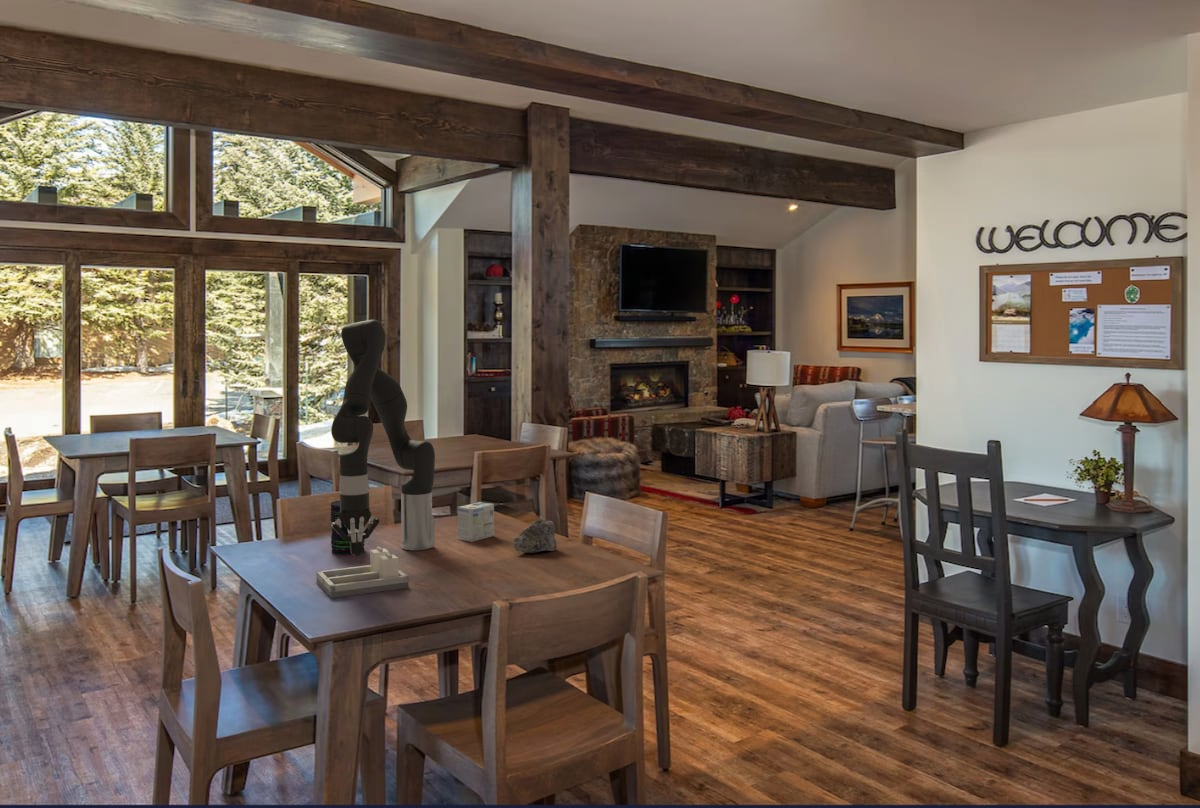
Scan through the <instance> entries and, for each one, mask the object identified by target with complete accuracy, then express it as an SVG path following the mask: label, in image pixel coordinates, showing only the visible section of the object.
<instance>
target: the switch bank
mask: <svg viewBox="0 0 1200 808" xmlns="http://www.w3.org/2000/svg"><path fill="white" fill-rule="evenodd" d="M316 583H317V585H318V586H319V587H320V588H321V589H322V590H323V592H325V593H326V594H327V595H328V597H329V598H330V599H335V598H341V597H342V598H343V597H348V596H357V594H358V595H363V594H372V593H378V592H384V591H385V592H386V591H393V590H400V589H408V588H409V575H407V574H406V573H405V572H403V570H401V569H399V576H398V577H390V578H382V579H379V571H377V572H370V564H369V565H368V564H367V565H360V566H352V567H344V568H335V569H328V570H326V569H325V570H318V571H316Z"/></svg>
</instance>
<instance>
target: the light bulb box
mask: <svg viewBox="0 0 1200 808" xmlns="http://www.w3.org/2000/svg"><path fill="white" fill-rule="evenodd" d="M494 536H495V505H494V503H489V502H488V503H487V502H483V501H478V502H474V503H471V504H465V505H462V506H457V539H458V540H460V541H466V542H468V543H469V542H470V543H473V542H476V541H477V542H478V541H480V540H484V539H488V538H492V537H494Z"/></svg>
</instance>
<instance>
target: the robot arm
mask: <svg viewBox="0 0 1200 808" xmlns="http://www.w3.org/2000/svg"><path fill="white" fill-rule="evenodd" d="M340 334H341V339H342V343H343V346H344V348H345V351H346V352H347V354H348V356H349V357H350V360H351V361H352V363H353V365H354V366H355V368H354V370H353V371H352V372H351V374H350V375H349V377H348V378H347V381H346V383H345V387H344V391H343V398H342V404H341V405H340V408H339V410H338V411H337V413H336V415H335V417H334V419H333V421H332V424H331V431H330V432H331V436H332V438H333V440H334V441H335V442H336V443H339V444H348V443H349V444H355V443H356V444H358V446H357V448H356V449H354V450H348V451H345V452H342V453H341V454H340V455H339V484H338V485H339V501H340V514H339V516H338V519H337V520H336V521H335V522H331V523H330V526H331V528H332V527H333V528H334V530H335V531H336V532H337V533H338V534H339V535H340V536H341V537H342V538H343V539H344V540H345V541H350V552H351V554H353V555H352V556H353V557H359V556H361V554H362V553H363V552H362V541H363V540H364V539H365V540H366V539H368V538H370V536H371V535H372V533H373V532H374V530H375V529H376V527H377V526H378V525H379V523H380V519H378V517H374V516H373V515H372V512H371V510H370V482H369V476H368V475H369V474H368V455H369V454H368V453H369V449H370V444H371V440H372V437H373V433H374V423H373V421H372V419H371V418H370V417H369V416H365V415H366V413H368V411H369V410H370V406H371V405H370V404H371V402H372V404H373V406H374V408H375V409H374V410H375V411H376V413H377V414H378V417H379V419H380V421H381V424H382V426H383V428H384V431H385V433H386V436H387V438H388V439H387V440H388V441H389V444H390V448H391V451H392V454H393V457H394V460H395V462H396V464H397V465H398V467H400V468H401V469H403V470H407V471H413V475H412V477H411V479H410V480H407V481H404V482H402V484H401V487H400V489H401V491H400V492H401V493H400V495H401V497H400V498H401V503H400V504H401V549H403V550H405V551H423V550H424V551H425V550H429V549H432V548H435V547H436V546H435V545H436V542H435V536H436V535H435V516H433V486H434V485H433V484H434V482H435V465H436V456H435V455H436V454H435V453H436V452H435V448H434V446H433V444H432V443H431V442H430V441H427V440H419V439H418V440H416V439H412V438H411V437H410V436H409V433H408V431H407V429H406V425H405V421H406V415H407V412H408V403H407V401H408V400H407V399H406V397H405V394H404V392H403V390H402V387H401V385H400V384H399V383H400V382H398V381H397V380H396V379H395V378H394V377H393V376H391V375H390V374H389V373H387V372H386V371H384V369H382V368H380V367H379V366H380V362H381V360H382V356H383V353H384V349H385V346H386V332H385V328H384V326H383V325H382V322H380V321H379V320H377V319H367V320H363V321H362V320H361V321H358V322H357V321H356V322H352V323H349V324H345V325H344V326H343V327H342V329H341V333H340ZM341 522H342V523H343V525H344V526H345V527H346V528H347V529H348V534H349V536H347V535H346V534H345V533H344V532H343V531H342V529H341V527H342V525H341ZM367 523H368V525H367ZM366 525H367V526H366ZM365 526H366V528H365ZM355 534H356V535H355Z"/></svg>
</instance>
